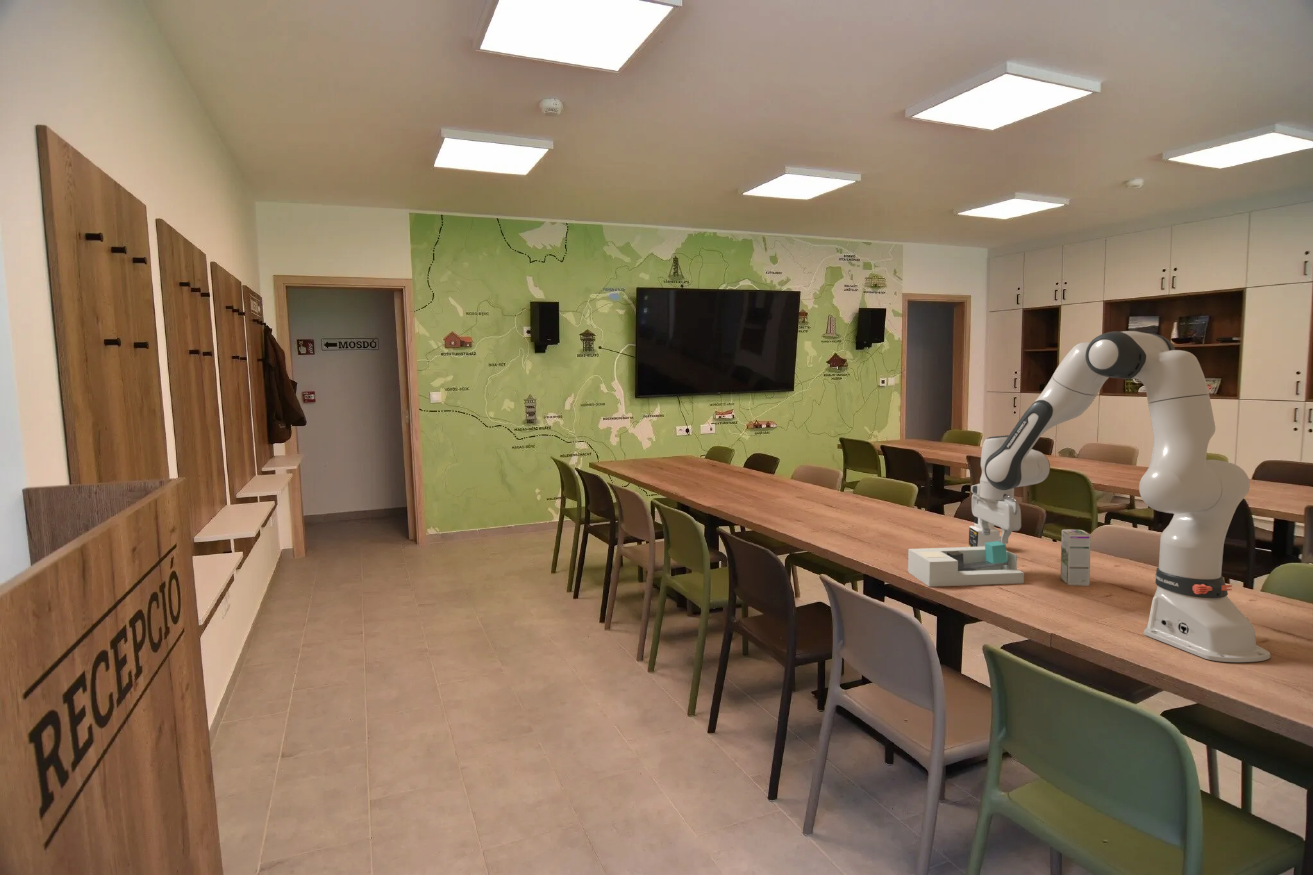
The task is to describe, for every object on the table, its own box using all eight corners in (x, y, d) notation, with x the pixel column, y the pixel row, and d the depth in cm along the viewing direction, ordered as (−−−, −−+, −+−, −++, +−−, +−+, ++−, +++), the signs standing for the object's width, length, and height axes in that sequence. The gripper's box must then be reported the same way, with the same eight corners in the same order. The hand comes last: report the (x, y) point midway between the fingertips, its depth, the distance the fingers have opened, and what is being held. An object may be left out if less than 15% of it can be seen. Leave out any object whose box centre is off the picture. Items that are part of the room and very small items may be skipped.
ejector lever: (1009, 564, 199) (1007, 547, 198) (953, 572, 198) (952, 555, 197) (1002, 561, 202) (1001, 544, 201) (948, 569, 201) (946, 552, 200)
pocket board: (1023, 583, 194) (1024, 558, 193) (929, 586, 192) (929, 561, 191) (996, 568, 208) (997, 545, 207) (908, 572, 206) (908, 548, 205)
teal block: (1007, 562, 198) (1005, 544, 198) (993, 563, 198) (992, 546, 197) (999, 558, 202) (998, 540, 201) (985, 560, 202) (984, 542, 201)
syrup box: (1090, 586, 190) (1092, 534, 189) (1066, 585, 191) (1068, 533, 190) (1082, 579, 196) (1084, 529, 194) (1059, 579, 197) (1061, 528, 195)
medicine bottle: (968, 546, 234) (969, 511, 232) (989, 546, 233) (990, 511, 232) (977, 552, 226) (978, 515, 225) (999, 551, 226) (1000, 515, 225)
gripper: (1028, 498, 188) (1026, 548, 189) (988, 484, 208) (986, 530, 210) (1006, 499, 188) (1003, 548, 189) (968, 485, 208) (966, 530, 209)
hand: (994, 538), depth 200 cm, fingers open, 8 cm apart
